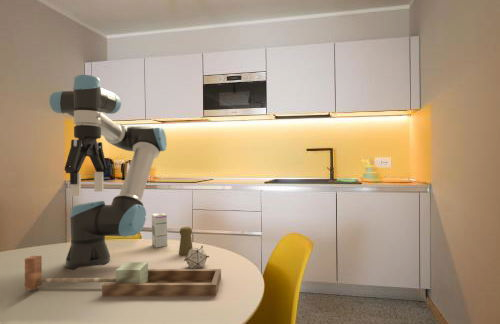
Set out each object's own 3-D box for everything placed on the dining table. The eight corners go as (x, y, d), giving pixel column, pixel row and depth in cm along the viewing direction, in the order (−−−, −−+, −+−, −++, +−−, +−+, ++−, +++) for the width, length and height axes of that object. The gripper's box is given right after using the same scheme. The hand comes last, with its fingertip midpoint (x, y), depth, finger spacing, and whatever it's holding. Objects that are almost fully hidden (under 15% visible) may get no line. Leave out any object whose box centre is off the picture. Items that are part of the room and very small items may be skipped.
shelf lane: (102, 299, 88) (102, 285, 88) (121, 281, 101) (121, 269, 101) (216, 299, 88) (216, 284, 88) (221, 281, 101) (220, 268, 101)
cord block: (19, 291, 92) (19, 260, 92) (36, 282, 99) (36, 253, 99) (139, 291, 91) (139, 260, 91) (148, 282, 98) (147, 253, 98)
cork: (179, 251, 135) (179, 226, 135) (194, 251, 136) (193, 225, 136) (177, 255, 129) (177, 228, 129) (192, 255, 130) (192, 228, 130)
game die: (199, 281, 111) (202, 264, 105) (178, 271, 113) (180, 253, 107) (211, 262, 118) (214, 245, 112) (191, 253, 120) (193, 235, 114)
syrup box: (167, 245, 145) (167, 214, 145) (155, 247, 142) (154, 215, 142) (164, 243, 150) (164, 212, 150) (151, 245, 147) (151, 213, 147)
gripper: (76, 120, 86) (77, 197, 86) (117, 129, 111) (117, 189, 111) (49, 120, 87) (50, 197, 86) (96, 130, 111) (96, 190, 111)
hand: (88, 193), depth 99 cm, fingers open, 13 cm apart
